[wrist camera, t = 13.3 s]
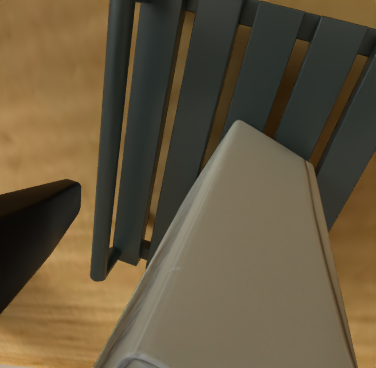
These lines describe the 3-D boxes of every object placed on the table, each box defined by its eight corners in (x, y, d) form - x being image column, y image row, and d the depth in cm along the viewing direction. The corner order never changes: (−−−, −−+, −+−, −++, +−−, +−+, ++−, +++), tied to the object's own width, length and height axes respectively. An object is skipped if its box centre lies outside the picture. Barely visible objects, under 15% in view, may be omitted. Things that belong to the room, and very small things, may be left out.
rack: (404, 37, 15) (485, 53, 9) (284, 269, 23) (286, 359, 17) (169, -20, 17) (106, -39, 11) (133, 218, 25) (85, 285, 19)
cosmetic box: (244, 246, 18) (193, 570, 7) (175, 205, 18) (29, 478, 7) (318, 160, 15) (413, 526, 4) (235, 109, 14) (122, 358, 4)
